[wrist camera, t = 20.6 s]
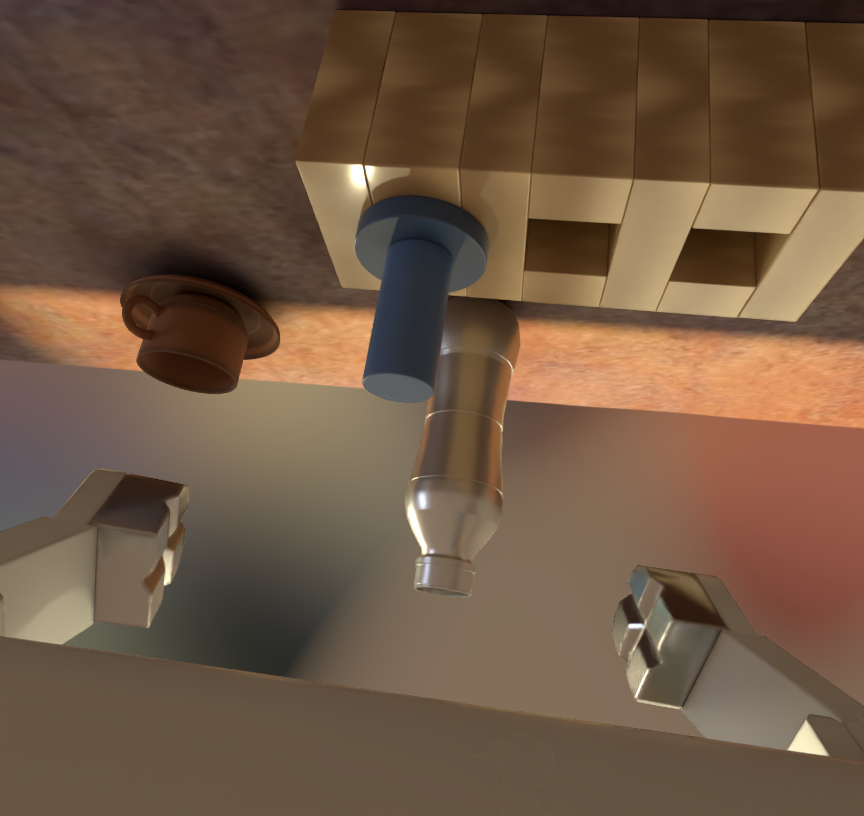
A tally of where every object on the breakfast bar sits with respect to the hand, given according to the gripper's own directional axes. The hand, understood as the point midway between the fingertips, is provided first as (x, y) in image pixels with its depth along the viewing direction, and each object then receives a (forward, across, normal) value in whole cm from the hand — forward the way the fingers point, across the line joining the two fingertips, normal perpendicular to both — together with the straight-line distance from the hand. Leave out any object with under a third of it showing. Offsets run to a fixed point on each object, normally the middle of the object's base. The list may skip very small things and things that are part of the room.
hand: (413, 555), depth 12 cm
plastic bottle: (+38, -6, +5) cm, 39 cm away
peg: (+24, 0, -6) cm, 25 cm away
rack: (+24, -6, -9) cm, 26 cm away
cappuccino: (+36, -25, +3) cm, 43 cm away
